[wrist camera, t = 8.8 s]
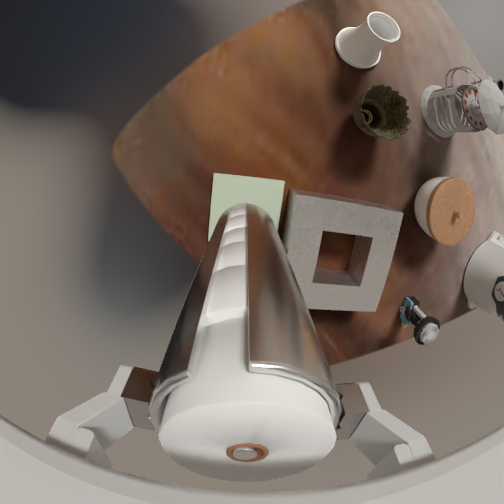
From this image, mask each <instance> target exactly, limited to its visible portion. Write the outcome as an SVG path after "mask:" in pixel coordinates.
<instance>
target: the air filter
mask: <svg viewBox="0 0 504 504" xmlns="http://www.w3.org/2000/svg"><path fill="white" fill-rule="evenodd" d="M149 413H150V415H149V418H150V421H151V422H152V424H153V426H154V428H155V430H156V431H157V433H158V436H159V440H160V444H161V445H162V447H163V449H164V451H165V452H166V454H167V455H168V456H169V457H170V458H171V459H173V460H174V461H175V462H176V463H178V464H179V465H181V466H183V467H185V468H187V469H188V470H190V471H192V472H195V473H198V474H201V475H204V476H207V477H211V478H217V479H222V480H228V481H241V482H253V481H266V480H272V479H277V478H282V477H286V476H289V475H294V474H297V473H300V472H302V471H304V470H306V469H308V468H310V467H312V466H314V465H315V464H316V463H318V462H319V461H320V460H321V459H323V458H324V457H325V456H326V455H327V454H328V453H329V452H330V451H331V450H332V449H333V447H334V445H335V441H336V438H337V436H336V432H335V429H336V427H337V426H338V424H339V421H340V417H341V413H342V406H341V402H340V397H339V393H338V391H337V388H336V385H335V382H334V379H333V376H332V374H331V371H330V368H329V365H328V362H327V359H326V357H325V354H324V351H323V348H322V346H321V343H320V340H319V337H318V335H317V332H316V329H315V327H314V324H313V321H312V319H311V316H310V313H309V311H308V308H307V305H306V303H305V300H304V298H303V295H302V292H301V290H300V287H299V285H298V282H297V279H296V277H295V274H294V272H293V269H292V267H291V264H290V262H289V259H288V257H287V254H286V252H285V249H284V247H283V244H282V242H281V239H280V237H279V234H278V232H277V230H276V227H275V225H274V222H273V220H272V218H271V217H270V215H269V214H268V213H267V212H266V211H265V210H264V209H263V208H261V207H259V206H257V205H255V204H249V203H241V204H237V205H234V206H231V207H230V208H228V209H227V210H225V211H224V212H223V214H222V215H221V216H220V218H219V220H218V222H217V224H216V226H215V229H214V231H213V234H212V236H211V238H210V241H209V243H208V245H207V248H206V250H205V253H204V255H203V257H202V260H201V262H200V265H199V267H198V270H197V272H196V274H195V277H194V280H193V282H192V285H191V287H190V290H189V292H188V295H187V297H186V300H185V302H184V305H183V307H182V310H181V313H180V315H179V318H178V321H177V323H176V326H175V329H174V331H173V334H172V336H171V340H170V342H169V345H168V347H167V350H166V353H165V356H164V358H163V361H162V364H161V367H160V370H159V373H158V376H157V379H156V382H155V384H154V387H153V390H152V393H151V396H150V399H149Z"/></svg>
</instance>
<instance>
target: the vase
mask: <svg viewBox="0 0 504 504" xmlns="http://www.w3.org/2000/svg"><path fill="white" fill-rule="evenodd" d="M399 37H400V29H399V27H398V25H397V23H396V22H395V21H394V20H393V19H392V18H391V17H390V16H388V15H386V14H384V13H382V12H372V13H370V14H369V15H368V17H367V19H366V20H365V21H364V23H362V24H361V25H360V26H358V27H348V28H345V29H343V30H341V31H340V32H339V33H338V35H337V36H336V39H335V47H336V50H337V52H338V54H339V55H340V57H341V58H342V59H343V60H344V61H345V62H347V63H348V64H350V65H351V66H354V67H356V68H361V69H366V68H370V67H372V66H374V65H375V64H377V63H378V61H379V60H380V57H381V50H382V48H383V47H384V46H386V45H387V44H389V43H391V42H394V41H396V40H398V39H399Z"/></svg>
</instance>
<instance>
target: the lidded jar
mask: <svg viewBox="0 0 504 504" xmlns="http://www.w3.org/2000/svg"><path fill="white" fill-rule="evenodd" d="M414 210H415V216H416V219H417V222H418V223H419V225H420V227H421V228H422V229H423V231H424V232H425V233H426V234H428V235H429V236H430V237H431V238H433V239H434V240H436V241H437V242H438V243H440V244H442V245H444V246H453V245H456V244H458V243H459V242H461V241H462V240H463V239H464V238H465V237H466V235H467V234H468V233H469V231H470V229H471V226H472V224H473V220H474V216H475V201H474V196H473V193H472V191H471V189H470V187H469V186H468V185H467V184H466V183H465V182H464V181H463V180H461V179H458V178H450V177H436V178H432V179H430V180H428V181H427V182H425V183H424V184H423V185H422V186H421V187H420V189H419V190H418V192H417V195H416V198H415V203H414Z"/></svg>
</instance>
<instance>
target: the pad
mask: <svg viewBox="0 0 504 504" xmlns="http://www.w3.org/2000/svg"><path fill="white" fill-rule="evenodd" d="M284 183H285V181H281V180H273V179H265V178H257V177H248V176H239V175H229V174H218V173H214V177H213V187H212V198H211V210H210V222H209V235H208V241H210V238H211V236H212V234H213V231H214V229H215V226H216V224H217V222H218V220H219V218H220V216H221V215H222V214H223V212H224V211H225V210H227V209H228V208H230V207H231V206H234V205H237V204H241V203H249V204H255V205H257V206H259V207H261V208H263V209H264V210H265V211H266V212H267V213H268V214H269V215H270V217H271V218H272V220H273V222H274V225H275V227H276V230H277V232H278V225H279V218H280V212H281V205H282V198H283V190H284Z"/></svg>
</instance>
